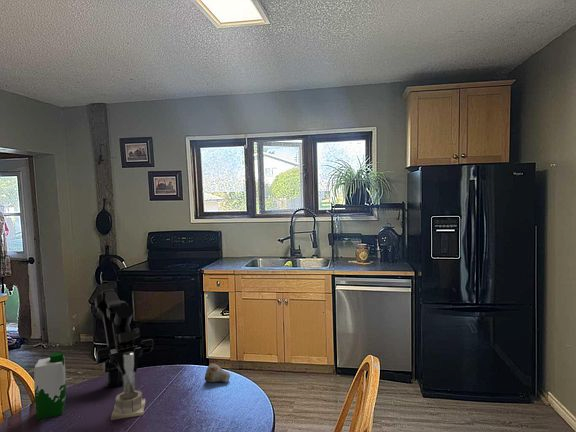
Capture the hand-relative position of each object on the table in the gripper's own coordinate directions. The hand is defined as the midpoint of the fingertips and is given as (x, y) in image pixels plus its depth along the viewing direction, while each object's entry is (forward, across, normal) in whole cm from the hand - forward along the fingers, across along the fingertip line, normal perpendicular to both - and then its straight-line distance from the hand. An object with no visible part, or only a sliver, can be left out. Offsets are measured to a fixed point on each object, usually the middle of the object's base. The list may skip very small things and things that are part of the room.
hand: (129, 373), depth 131 cm
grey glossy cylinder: (+4, 0, +6) cm, 7 cm away
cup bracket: (+8, 0, +10) cm, 13 cm away
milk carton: (-2, -23, +21) cm, 31 cm away
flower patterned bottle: (+7, +34, +12) cm, 37 cm away
